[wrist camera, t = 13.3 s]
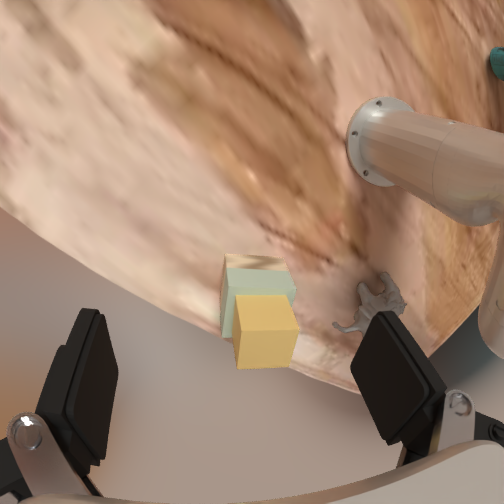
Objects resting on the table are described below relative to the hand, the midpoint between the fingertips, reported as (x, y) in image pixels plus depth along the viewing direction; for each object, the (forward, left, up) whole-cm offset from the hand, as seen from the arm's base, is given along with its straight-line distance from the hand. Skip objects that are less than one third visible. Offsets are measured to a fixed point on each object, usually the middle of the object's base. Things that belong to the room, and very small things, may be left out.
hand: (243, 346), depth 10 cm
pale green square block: (-6, +16, -25) cm, 30 cm away
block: (-6, +16, -21) cm, 27 cm away
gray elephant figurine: (-25, +20, -29) cm, 43 cm away
